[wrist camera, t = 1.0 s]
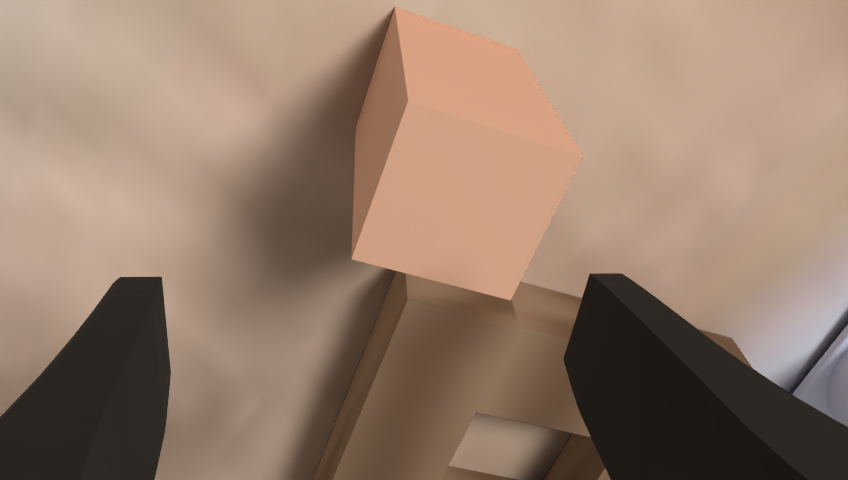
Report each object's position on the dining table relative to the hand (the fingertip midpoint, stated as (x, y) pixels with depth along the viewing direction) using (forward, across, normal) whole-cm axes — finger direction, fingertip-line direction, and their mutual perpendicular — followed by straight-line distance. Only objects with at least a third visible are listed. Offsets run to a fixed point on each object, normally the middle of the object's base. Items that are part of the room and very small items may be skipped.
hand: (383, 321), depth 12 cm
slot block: (+11, -8, +15) cm, 20 cm away
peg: (+12, -3, +1) cm, 12 cm away
